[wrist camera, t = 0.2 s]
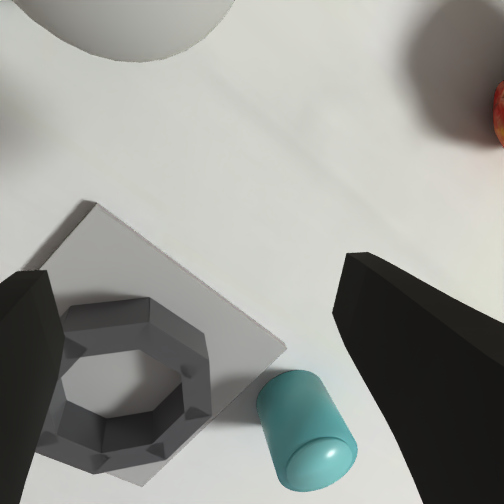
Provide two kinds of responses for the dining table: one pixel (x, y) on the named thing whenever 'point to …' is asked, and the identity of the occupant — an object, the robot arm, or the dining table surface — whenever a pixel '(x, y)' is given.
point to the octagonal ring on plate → (140, 353)
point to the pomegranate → (499, 112)
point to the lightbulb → (128, 25)
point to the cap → (304, 432)
